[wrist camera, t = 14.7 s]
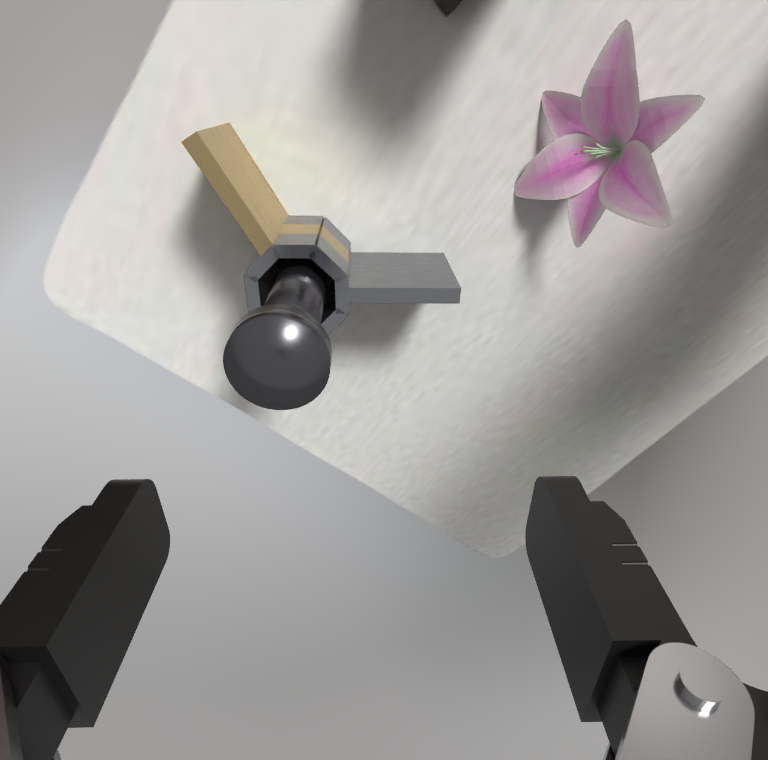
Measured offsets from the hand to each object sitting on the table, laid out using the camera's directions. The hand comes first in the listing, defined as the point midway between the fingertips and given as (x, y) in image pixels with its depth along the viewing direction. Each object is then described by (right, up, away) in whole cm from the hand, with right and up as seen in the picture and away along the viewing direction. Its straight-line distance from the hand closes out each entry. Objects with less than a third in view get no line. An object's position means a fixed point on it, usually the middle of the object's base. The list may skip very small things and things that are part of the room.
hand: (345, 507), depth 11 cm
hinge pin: (-5, +12, +26) cm, 29 cm away
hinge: (-2, +14, +25) cm, 29 cm away
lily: (+14, +19, +23) cm, 33 cm away
